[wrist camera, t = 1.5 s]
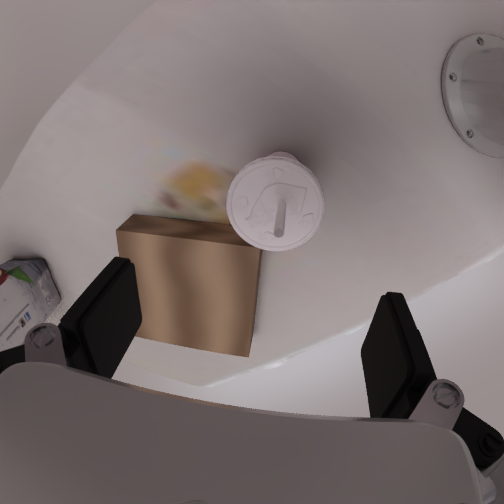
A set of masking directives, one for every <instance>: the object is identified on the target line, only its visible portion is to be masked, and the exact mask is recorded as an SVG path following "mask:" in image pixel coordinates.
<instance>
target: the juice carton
mask: <svg viewBox="0 0 504 504" xmlns="http://www.w3.org/2000/svg"><path fill="white" fill-rule="evenodd" d="M59 302H60V296H59V294H58V292H57V289H56V287H55V285H54V283H53V280H52V278H51V275H50V273H49V270H48V267H47V265H46V262H45V260H43V259H30V260H19V259H12V260H9V261H7V262H5V263H3V264H1V265H0V352H1V351H4V350H7V349H10V348H13V347H16V346H20V345H23V344H25V342H24V341H25V336H26V334H27V332H28V331H29V330H30V329H31V328H33V327H34V326H36V325H38V324H41V323H44V322H45V320H46V319H47V318H48V317H49V315H50V314H51V313H52V312H53V310H54V309H55V308H56V307H57V305H58V304H59Z"/></svg>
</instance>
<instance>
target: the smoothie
mask: <svg viewBox="0 0 504 504" xmlns="http://www.w3.org/2000/svg"><path fill="white" fill-rule="evenodd" d="M226 208H227V214H228V218H229V221H230V223H231V225H232V227H233V228H234V230H235V231H236V232H237V234H238V235H239V236H240V237H241V238H242V239H244V240H245V241H246V242H248V243H249V244H251V245H253V246H255V247H257V248H260V249H263V250H268V251H286V250H290V249H293V248H296V247H298V246H300V245H302V244H304V243H305V242H307V241H308V240H309V239H310V238H311V237H312V236H313V235H314V234H315V233H316V231H317V230H318V228H319V226H320V224H321V222H322V219H323V215H324V197H323V191H322V188H321V186H320V184H319V181H318V179H317V178H316V177H315V175H314V174H313V173H312V172H311V171H310V170H309V168H307V167H306V166H304V165H303V164H301V163H300V162H299V161H298V160H297V159H296V158H295V157H294V156H293V155H292V154H290V153H287V152H282V151H279V152H274V153H272V154H270V155H268V156H267V157H263V158H258V159H256V160H254V161H252V162H250V163H248V164H247V165H246V166H244V167H243V168H242V169H241V170H240V171H239V172H238V173H237V174H236V176H235V178H234V179H233V181H232V182H231V185H230V188H229V191H228V194H227V201H226Z"/></svg>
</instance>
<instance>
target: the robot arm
mask: <svg viewBox="0 0 504 504" xmlns="http://www.w3.org/2000/svg"><path fill="white" fill-rule="evenodd" d="M449 75H450V76H451V79H450V78H449ZM442 94H443V100H444V104H445V108H446V111H447V114H448V116H449V118H450V121H451V123H452V125H453V127H454V128H455V130H456V131H457V133H458V134H459V136H460V137H461V138H462V139H463V140H464V141H465V142H466V143H467V144H468V145H469V146H471V147H472V148H473V149H475V150H476V151H478V152H480V153H482V154H485V155H487V156H490V157H495V158H504V40H503V39H501V38H499V37H496V36H494V35H490V34H484V33H483V34H474V35H470V36H466V37H464V38H463V39H461V40H459V41H458V42H457V43H456V44H455V45H454V46H453V47H452V48H451V50H450V52H449V53H448V55H447V57H446V60H445V63H444V66H443V72H442ZM466 132H467V133H466ZM60 321H61V322H60V324H59V325H58V326H56V325H54V324H52V323H41V324H38V325H36V326H34V327H33V328H31V329H30V330H29V331H28V332H27V334H26V336H25V341H24V342H25V344H23V345H20V346H16V347H13V348H10V349H7V350H4V351H1V352H0V504H504V439H503V437H502V436H501V434H500V433H499V432H498V431H497V430H496V429H494V428H493V427H491V426H490V425H488V424H487V423H485V422H484V421H483V420H481V419H480V418H478V417H477V416H475V415H474V414H472V413H471V412H469V411H468V410H466V409H465V408H464V407H463V405H464V395H463V392H462V390H461V389H460V388H459V387H458V385H456V384H455V383H454V382H452V381H449V380H446V379H437V377H436V375H435V372H434V369H433V366H432V363H431V360H430V358H429V355H428V352H427V350H426V347H425V344H424V342H423V339H422V336H421V334H420V332H419V330H418V329H417V327H416V325H415V322H414V320H413V317H412V315H411V312H410V310H409V308H408V305H407V303H406V300H405V298H404V296H403V294H402V293H396V292H387V293H386V295H382V296H381V298H380V301H379V303H378V306H377V309H376V312H375V314H374V317H373V320H372V322H371V325H370V328H369V330H368V333H367V335H366V338H365V340H364V343H363V345H362V348H361V358H362V365H363V370H364V377H365V383H366V389H367V396H368V403H369V410H370V418H364V417H363V418H362V417H339V416H321V415H307V414H295V413H285V412H276V411H267V410H259V409H252V408H244V407H238V406H231V405H225V404H218V403H213V402H207V401H202V400H197V399H191V398H187V397H182V396H177V395H172V394H168V393H164V392H159V391H155V390H151V389H147V388H143V387H139V386H135V385H131V384H127V383H124V382H120V381H117V380H113V379H111V378H112V376H113V374H114V373H115V371H116V369H117V367H118V365H119V363H120V362H121V360H122V358H123V356H124V354H125V353H126V351H127V349H128V347H129V345H130V344H131V342H132V340H133V338H134V336H135V335H136V333H137V331H138V329H139V328H140V326H141V323H142V312H141V306H140V299H139V293H138V286H137V279H136V271H135V265H134V263H131V260H130V259H129V258H123V257H114V258H113V259H112V260H111V262H110V263H109V264H108V265H107V266H106V267H105V268H104V269H103V270H102V272H101V273H100V274H99V275H98V276H97V277H96V278H95V279H94V281H93V282H92V283H91V284H90V285H89V286H88V287H87V289H86V290H85V291H84V292H83V293H82V294H81V296H80V297H79V298H78V299H77V300H76V302H75V303H74V304H73V305H72V306H71V308H70V309H69V310H68V311H67V312H66V314H65V315H64V316H63V317H62V318H61V320H60Z"/></svg>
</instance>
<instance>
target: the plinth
mask: <svg viewBox="0 0 504 504" xmlns="http://www.w3.org/2000/svg"><path fill="white" fill-rule="evenodd" d="M116 236H117V244H118V251H119V257H123V258H129V259H130V260H131V263H134V265H135V271H136V279H137V286H138V293H139V299H140V306H141V312H142V323H141V326H140V328H139V329H138V331H137V333H136V335H135V336H137V337H141V338H145V339H150V340H155V341H159V342H164V343H169V344H174V345H179V346H184V347H189V348H195V349H200V350H206V351H211V352H217V353H223V354H230V355H236V356H243V357H249V353H250V347H251V342H252V337H253V329H254V320H255V311H256V302H257V292H258V283H259V273H260V264H261V254H262V249H260V248H257V247H255V246H253V245H251V244H249V243H248V242H246V241H245V240H244V239H242V238H241V237H240V236H239V235H238V234H237V232H236V231H235V230H234V228H233V227H232V225H227V224H218V223H209V222H201V221H192V220H183V219H173V218H164V217H154V216H145V215H135V214H133V215H132V216H131V217H130V218H129V219H128V220H126V221H125V222H124V223H123V224H122V225H121V226H120V227H119V228H118V229H116Z"/></svg>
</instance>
